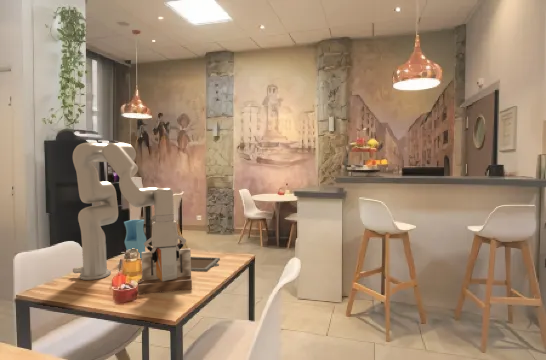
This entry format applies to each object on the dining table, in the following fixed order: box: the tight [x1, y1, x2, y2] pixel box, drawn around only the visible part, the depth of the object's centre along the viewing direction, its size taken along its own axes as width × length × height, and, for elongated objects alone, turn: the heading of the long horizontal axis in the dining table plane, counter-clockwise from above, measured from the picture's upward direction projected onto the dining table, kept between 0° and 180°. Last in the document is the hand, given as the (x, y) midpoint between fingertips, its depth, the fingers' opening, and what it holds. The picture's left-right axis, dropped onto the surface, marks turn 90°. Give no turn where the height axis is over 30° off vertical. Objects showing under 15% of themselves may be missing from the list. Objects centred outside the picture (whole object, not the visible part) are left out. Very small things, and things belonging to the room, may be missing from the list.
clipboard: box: [191, 256, 221, 272], centre depth 171 cm, size 19×2×30 cm
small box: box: [155, 246, 177, 282], centre depth 140 cm, size 8×6×13 cm
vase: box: [123, 219, 147, 260], centre depth 183 cm, size 8×8×20 cm
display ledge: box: [137, 247, 193, 295], centre depth 141 cm, size 20×15×14 cm
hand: (166, 260), depth 140 cm, fingers closed on small box, 7 cm apart
